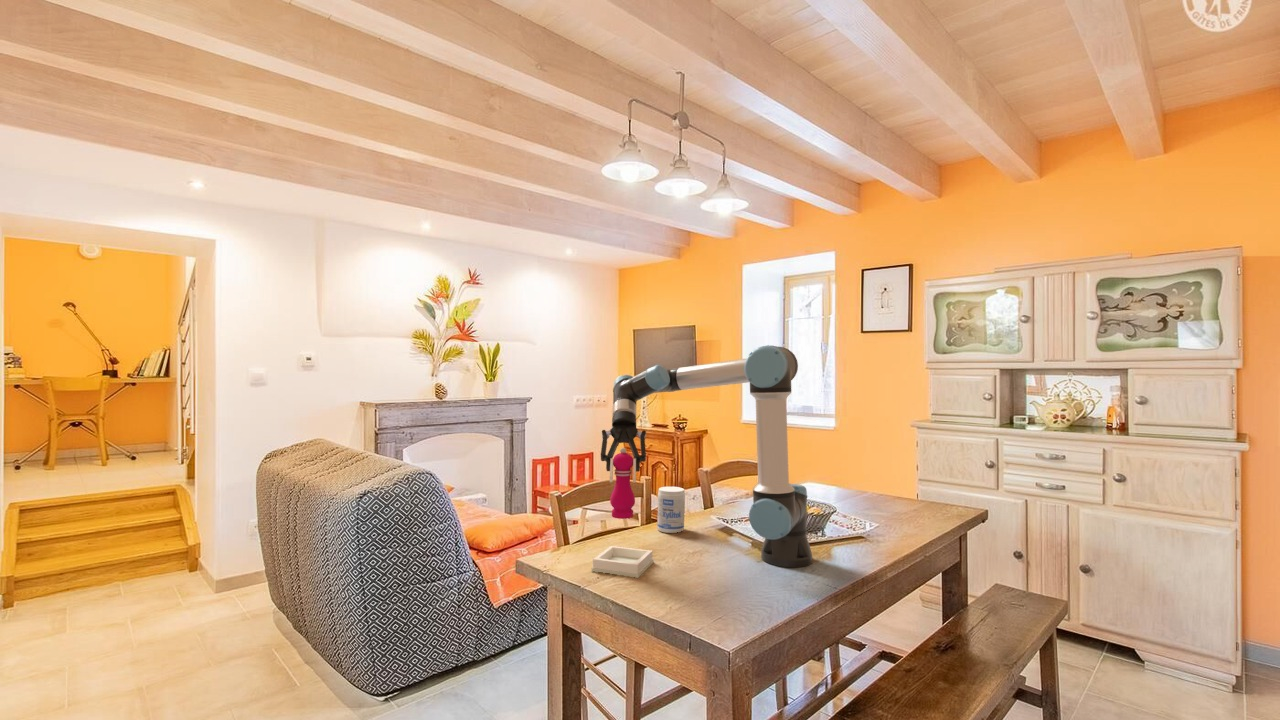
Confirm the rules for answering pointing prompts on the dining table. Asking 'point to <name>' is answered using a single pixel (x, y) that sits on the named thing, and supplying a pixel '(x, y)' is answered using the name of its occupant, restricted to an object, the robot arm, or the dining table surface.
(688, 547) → the dining table surface
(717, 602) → the dining table surface
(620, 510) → the pepper mill
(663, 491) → the supplement tub
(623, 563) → the ceramic tray
